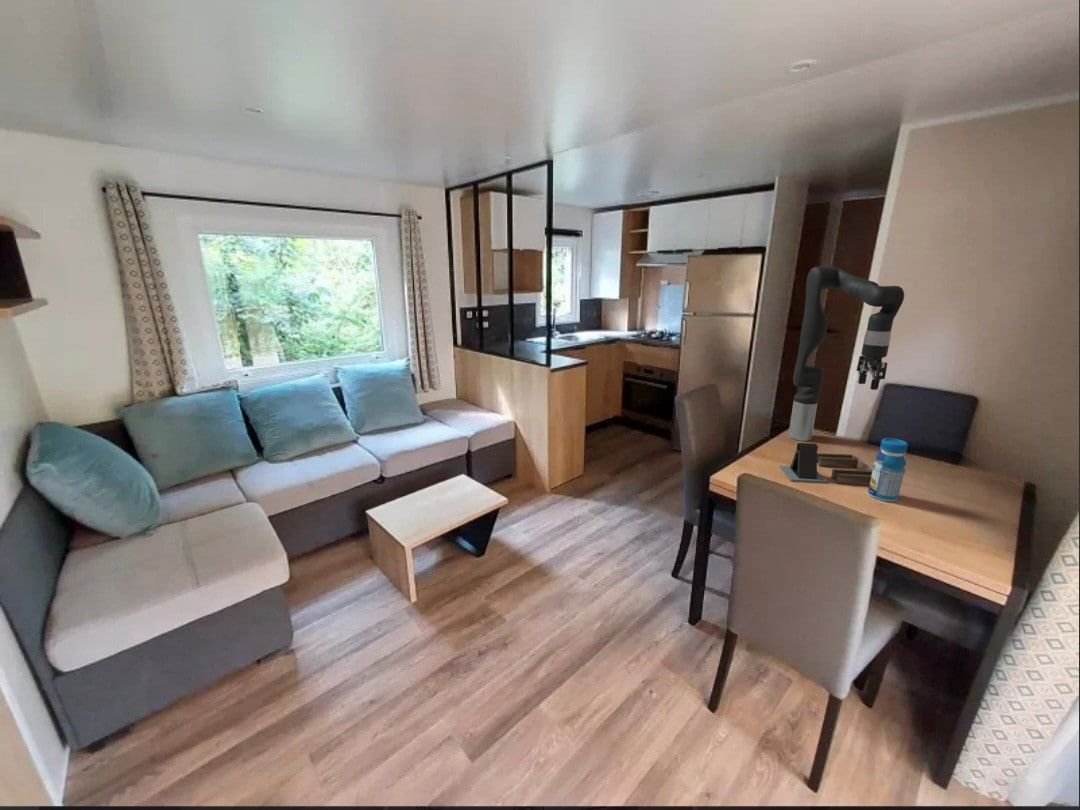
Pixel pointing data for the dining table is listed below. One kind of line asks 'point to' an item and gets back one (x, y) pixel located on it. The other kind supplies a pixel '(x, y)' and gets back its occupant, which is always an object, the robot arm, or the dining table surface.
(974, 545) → the dining table surface
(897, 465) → the blue pill bottle
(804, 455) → the phone stand
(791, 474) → the slate mat
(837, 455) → the walnut rack
